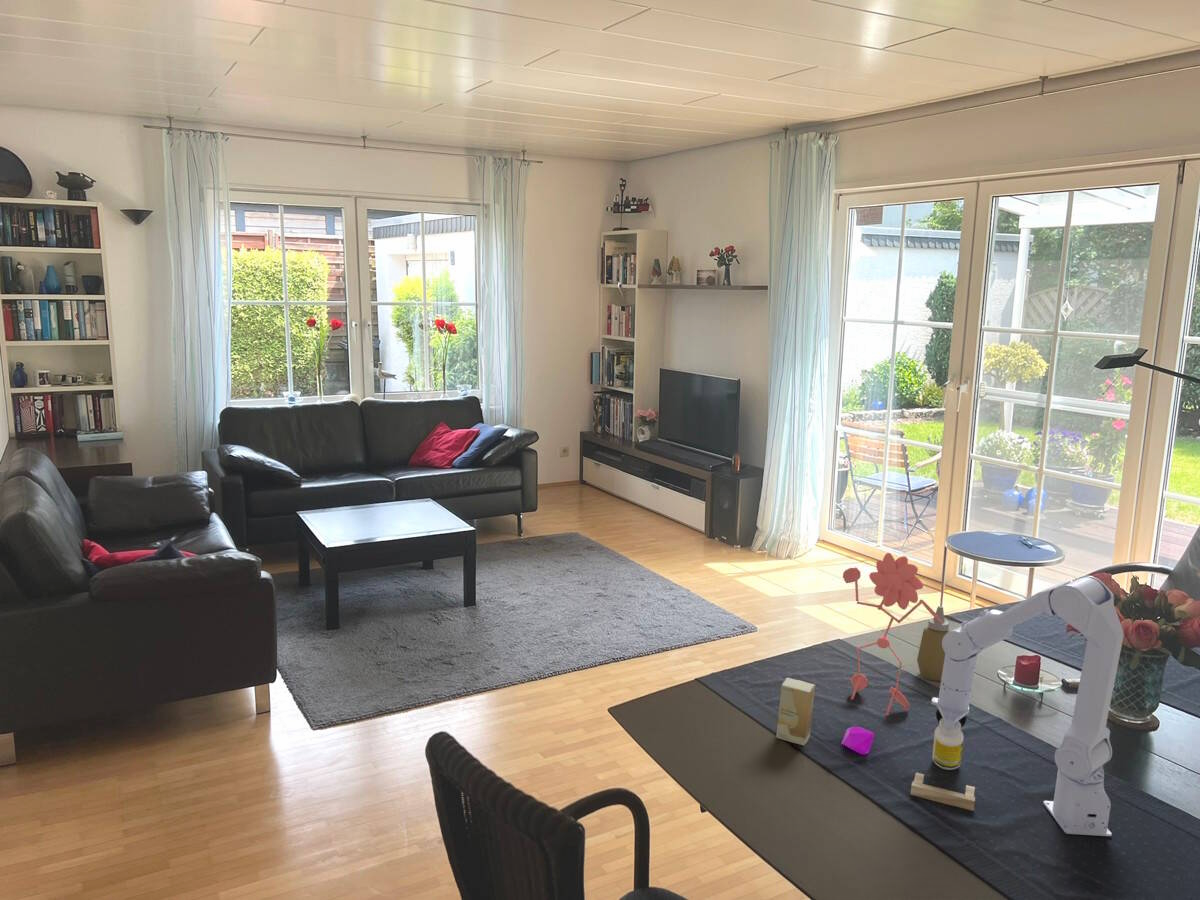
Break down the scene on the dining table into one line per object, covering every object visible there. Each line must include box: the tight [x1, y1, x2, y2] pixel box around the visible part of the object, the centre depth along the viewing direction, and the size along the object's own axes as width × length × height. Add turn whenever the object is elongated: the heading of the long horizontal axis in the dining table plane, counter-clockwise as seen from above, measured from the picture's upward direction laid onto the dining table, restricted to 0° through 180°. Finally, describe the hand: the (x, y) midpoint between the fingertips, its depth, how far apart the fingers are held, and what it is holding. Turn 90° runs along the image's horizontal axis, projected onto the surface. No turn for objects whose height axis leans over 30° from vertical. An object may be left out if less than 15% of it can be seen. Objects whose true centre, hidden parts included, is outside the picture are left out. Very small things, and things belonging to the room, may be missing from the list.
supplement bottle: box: [931, 718, 964, 771], centre depth 174 cm, size 5×5×10 cm
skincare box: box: [776, 677, 816, 746], centre depth 184 cm, size 6×4×12 cm
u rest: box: [910, 772, 976, 812], centre depth 165 cm, size 5×11×2 cm, turn 64°
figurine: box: [842, 552, 943, 727], centre depth 200 cm, size 15×26×35 cm, turn 40°
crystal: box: [841, 726, 875, 756], centre depth 181 cm, size 5×5×5 cm
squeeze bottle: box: [916, 605, 950, 682], centre depth 214 cm, size 8×8×18 cm
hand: (946, 745), depth 178 cm, fingers closed, pressing on supplement bottle
